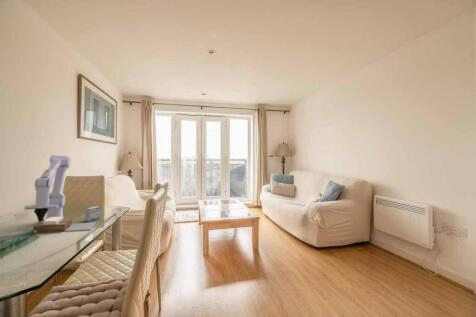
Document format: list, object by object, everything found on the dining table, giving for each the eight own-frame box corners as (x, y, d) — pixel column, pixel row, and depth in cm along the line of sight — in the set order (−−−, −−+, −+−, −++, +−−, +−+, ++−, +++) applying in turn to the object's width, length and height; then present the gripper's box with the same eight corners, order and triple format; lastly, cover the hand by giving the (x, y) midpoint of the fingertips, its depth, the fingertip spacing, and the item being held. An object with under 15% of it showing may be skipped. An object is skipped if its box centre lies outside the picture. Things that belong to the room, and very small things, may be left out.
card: (49, 220, 124) (50, 217, 124) (62, 219, 127) (62, 216, 127) (43, 224, 116) (43, 221, 116) (56, 224, 118) (56, 220, 118)
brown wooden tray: (43, 226, 124) (43, 220, 124) (71, 224, 130) (71, 218, 130) (33, 233, 113) (33, 226, 113) (64, 231, 119) (65, 224, 119)
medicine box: (89, 221, 138) (90, 209, 138) (84, 220, 139) (85, 208, 139) (99, 218, 146) (100, 206, 146) (94, 217, 147) (95, 206, 147)
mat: (72, 224, 131) (73, 223, 131) (96, 223, 136) (96, 222, 136) (64, 231, 118) (64, 230, 118) (90, 230, 123) (90, 229, 123)
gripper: (22, 199, 113) (20, 224, 112) (55, 199, 118) (53, 222, 118) (29, 197, 119) (27, 220, 119) (60, 197, 125) (58, 219, 125)
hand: (40, 221), depth 119 cm, fingers closed
